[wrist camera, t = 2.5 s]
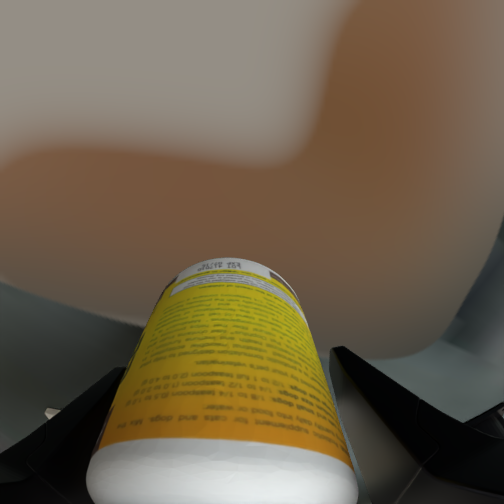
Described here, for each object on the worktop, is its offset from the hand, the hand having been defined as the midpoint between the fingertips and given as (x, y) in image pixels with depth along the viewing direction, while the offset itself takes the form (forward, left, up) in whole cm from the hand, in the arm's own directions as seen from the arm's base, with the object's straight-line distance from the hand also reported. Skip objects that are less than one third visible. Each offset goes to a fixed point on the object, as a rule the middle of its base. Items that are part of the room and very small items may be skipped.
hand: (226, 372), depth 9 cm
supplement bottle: (0, 0, -3) cm, 3 cm away
